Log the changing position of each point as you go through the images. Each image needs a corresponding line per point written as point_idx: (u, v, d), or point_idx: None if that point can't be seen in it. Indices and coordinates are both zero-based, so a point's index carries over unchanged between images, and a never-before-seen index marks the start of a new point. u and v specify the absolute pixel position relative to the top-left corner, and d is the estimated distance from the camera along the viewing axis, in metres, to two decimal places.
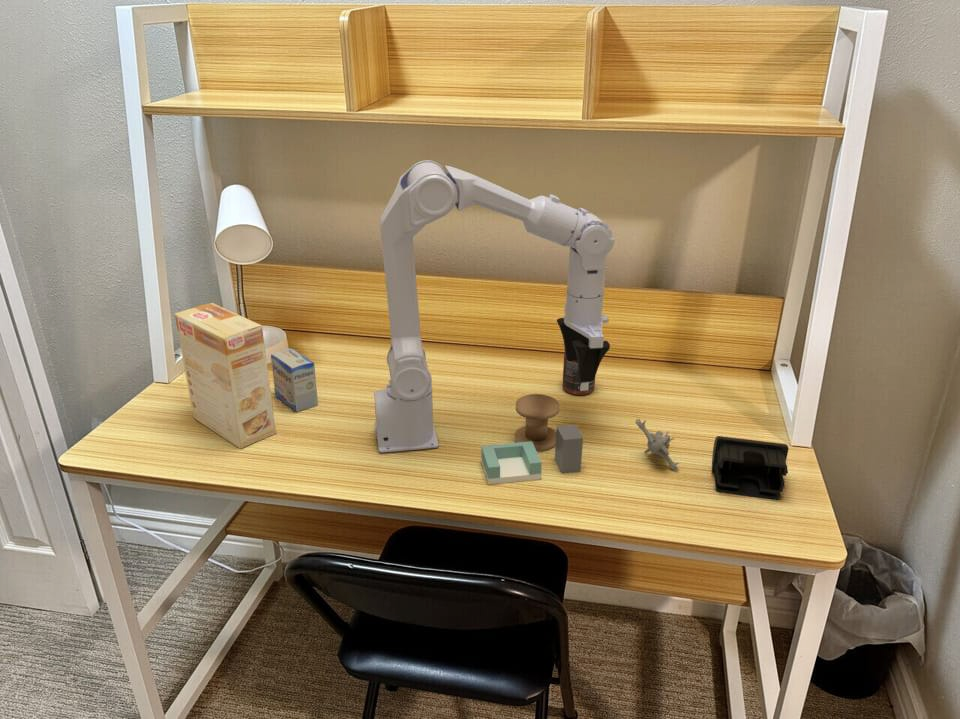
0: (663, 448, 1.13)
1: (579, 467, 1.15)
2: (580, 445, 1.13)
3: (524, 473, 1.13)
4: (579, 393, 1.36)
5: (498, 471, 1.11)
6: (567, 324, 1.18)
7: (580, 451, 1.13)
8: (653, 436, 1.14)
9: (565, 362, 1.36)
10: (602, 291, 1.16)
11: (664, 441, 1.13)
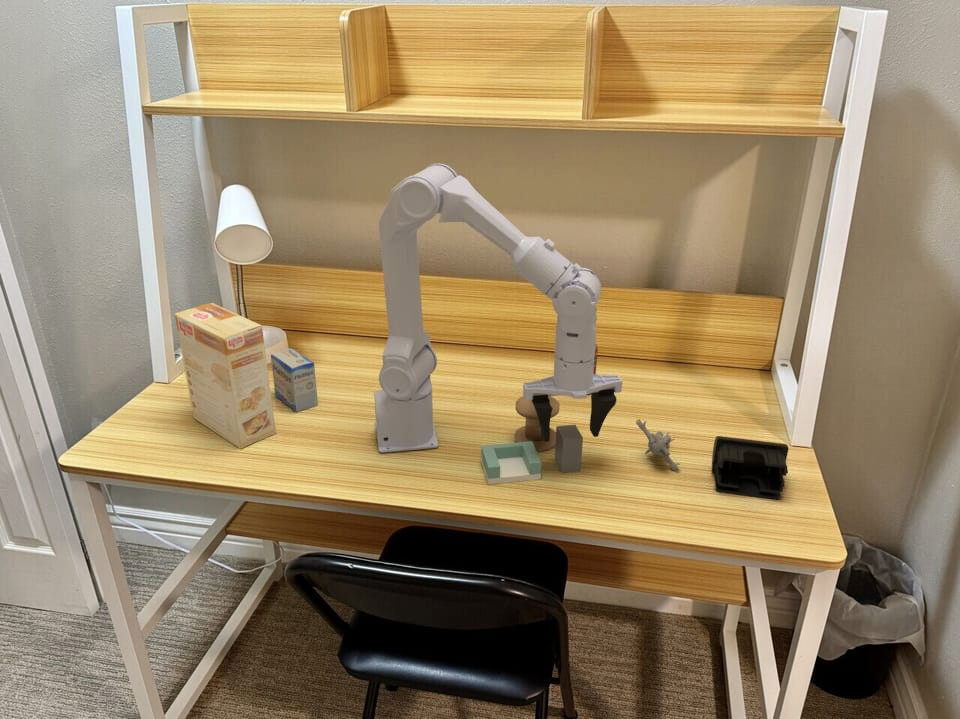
0: (664, 449, 1.13)
1: (579, 467, 1.15)
2: (580, 445, 1.13)
3: (524, 473, 1.13)
4: None
5: (498, 471, 1.11)
6: None
7: (580, 451, 1.13)
8: (654, 437, 1.13)
9: None
10: (587, 357, 1.06)
11: (665, 441, 1.13)
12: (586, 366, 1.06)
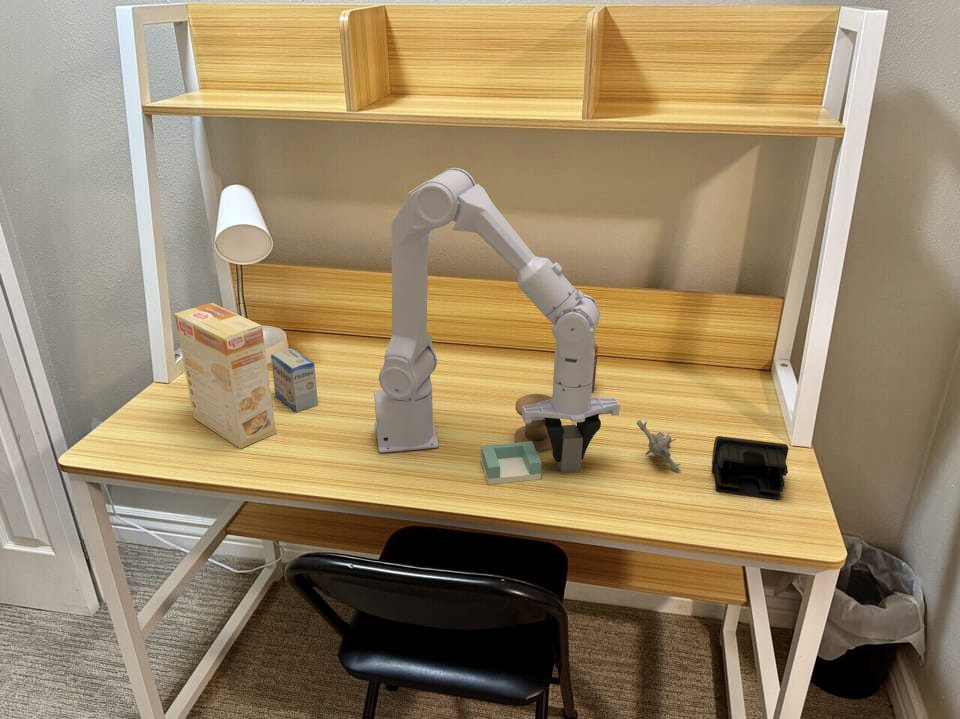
0: (665, 449, 1.13)
1: (579, 467, 1.15)
2: (580, 445, 1.13)
3: (524, 473, 1.13)
4: None
5: (498, 471, 1.11)
6: None
7: (580, 451, 1.13)
8: (655, 437, 1.13)
9: None
10: (585, 382, 1.08)
11: (666, 442, 1.13)
12: (584, 390, 1.08)
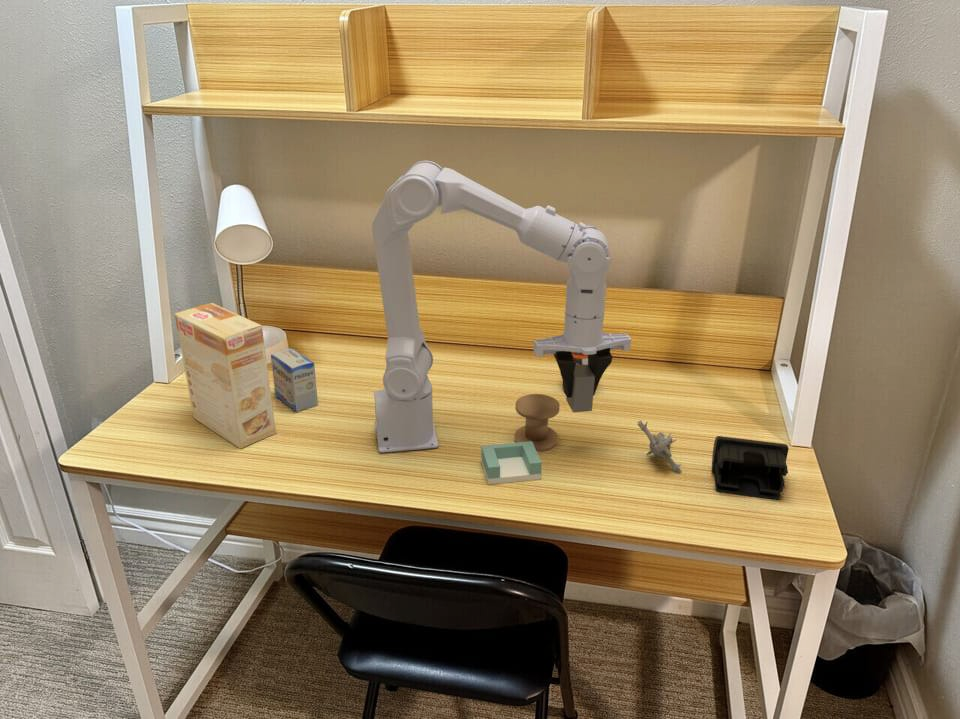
0: (666, 450, 1.13)
1: (591, 406, 1.15)
2: (592, 383, 1.13)
3: (524, 473, 1.13)
4: None
5: (498, 471, 1.11)
6: None
7: (592, 390, 1.14)
8: (656, 438, 1.13)
9: None
10: (600, 313, 1.08)
11: (667, 443, 1.13)
12: (596, 322, 1.09)
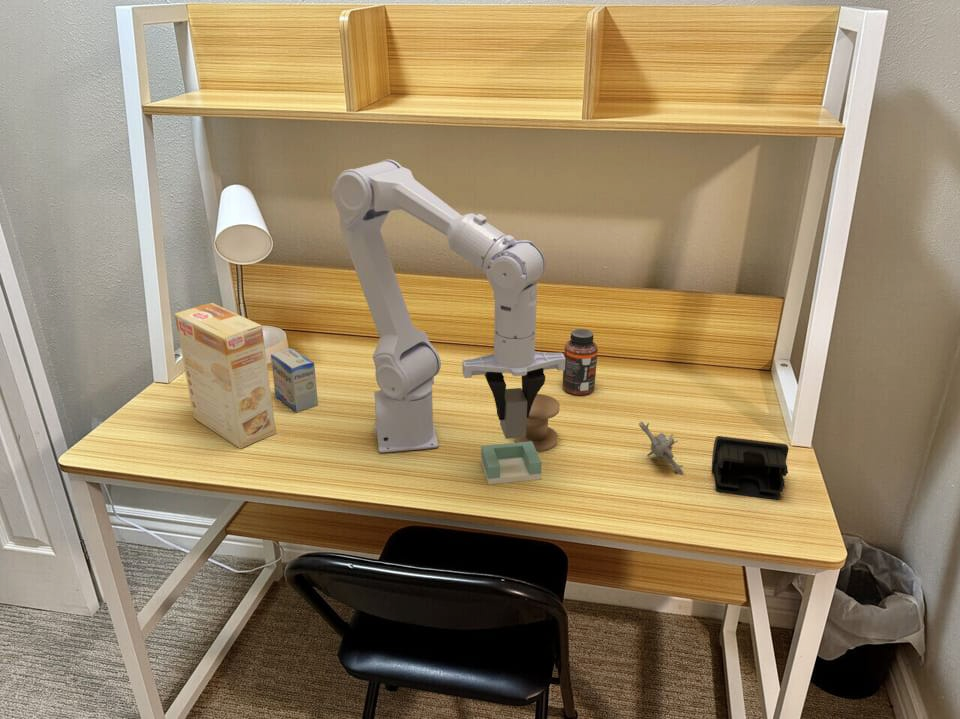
0: (667, 451, 1.13)
1: (524, 432, 1.09)
2: (524, 409, 1.07)
3: (524, 473, 1.13)
4: (579, 393, 1.36)
5: (498, 471, 1.11)
6: None
7: (525, 415, 1.08)
8: (657, 439, 1.13)
9: (565, 362, 1.36)
10: (522, 334, 1.02)
11: (668, 444, 1.13)
12: (526, 342, 1.03)
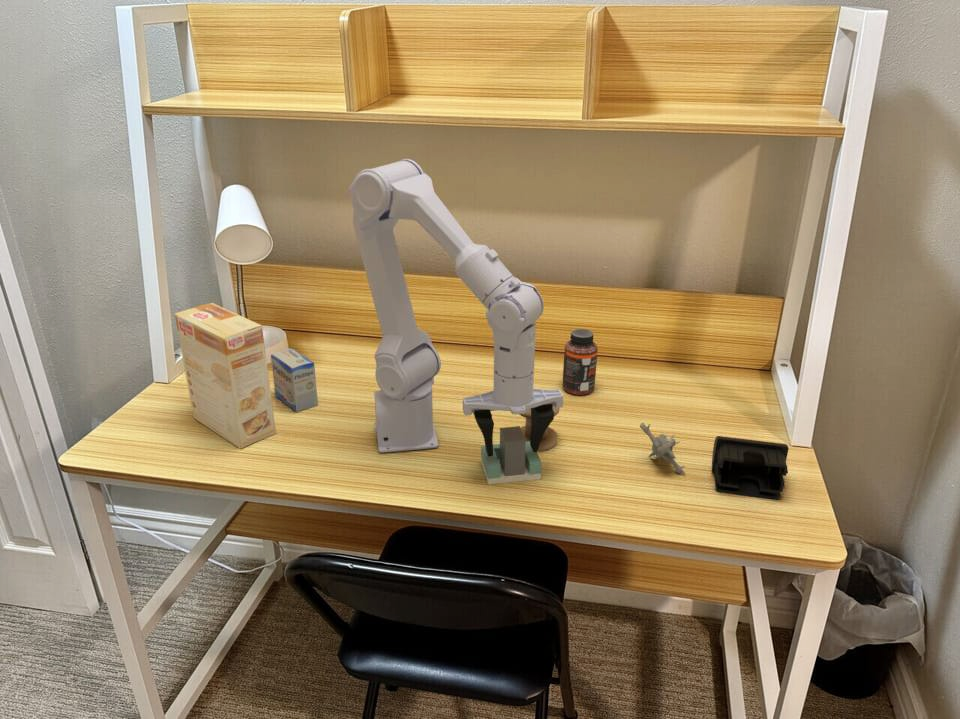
0: (669, 452, 1.12)
1: (523, 470, 1.12)
2: (523, 447, 1.10)
3: (524, 473, 1.13)
4: (579, 393, 1.36)
5: (498, 471, 1.11)
6: None
7: (523, 453, 1.11)
8: (659, 440, 1.13)
9: (565, 362, 1.36)
10: (521, 373, 1.04)
11: (670, 445, 1.12)
12: (524, 381, 1.05)
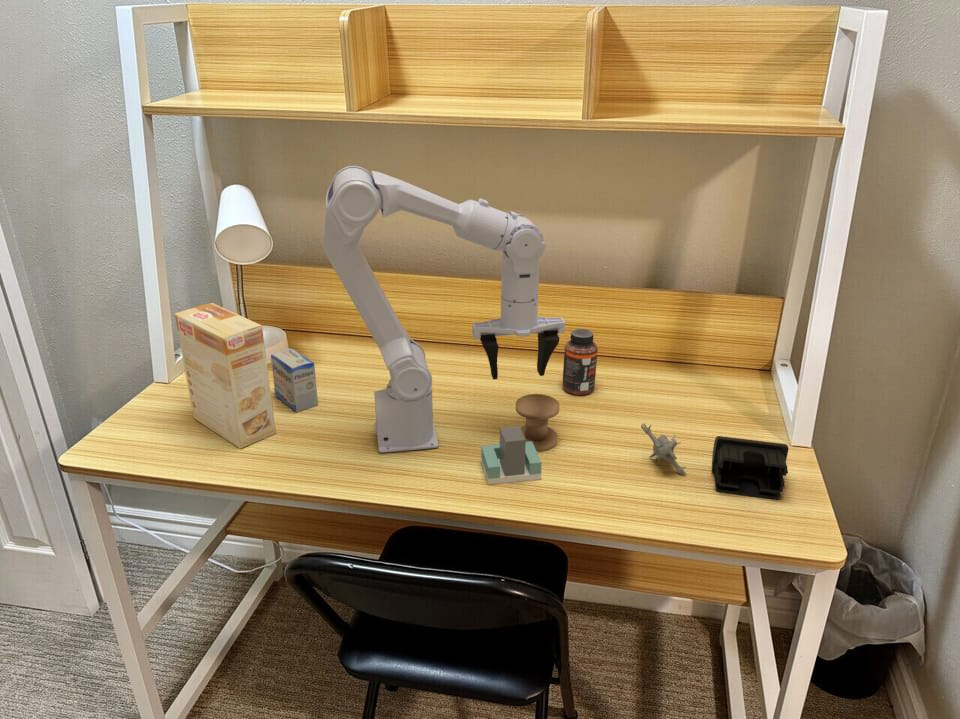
0: (670, 452, 1.12)
1: (523, 470, 1.12)
2: (523, 447, 1.10)
3: (524, 473, 1.13)
4: (579, 393, 1.36)
5: (498, 471, 1.11)
6: None
7: (523, 453, 1.11)
8: (660, 441, 1.12)
9: (565, 362, 1.36)
10: (536, 295, 1.15)
11: (671, 445, 1.12)
12: (529, 306, 1.14)
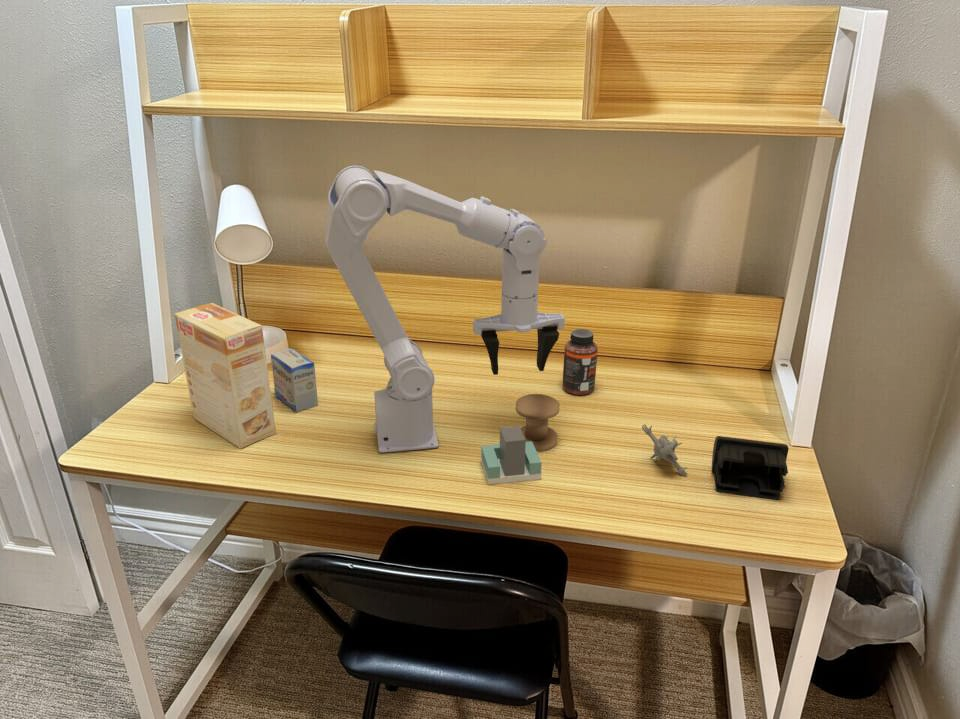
0: (672, 453, 1.12)
1: (523, 470, 1.12)
2: (523, 447, 1.10)
3: (524, 473, 1.13)
4: (579, 393, 1.36)
5: (498, 471, 1.11)
6: None
7: (523, 453, 1.11)
8: (661, 441, 1.12)
9: (565, 362, 1.36)
10: (537, 291, 1.17)
11: (672, 446, 1.12)
12: (529, 302, 1.16)
